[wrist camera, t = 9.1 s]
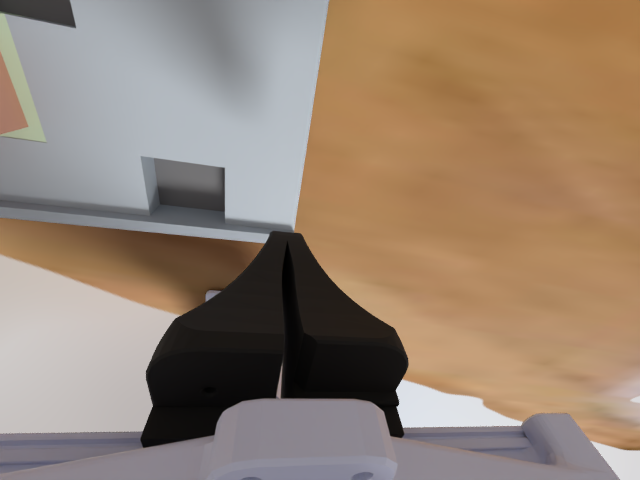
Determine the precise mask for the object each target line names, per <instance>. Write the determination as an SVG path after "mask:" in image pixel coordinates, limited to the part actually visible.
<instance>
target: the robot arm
mask: <svg viewBox="0 0 640 480" xmlns="http://www.w3.org/2000/svg"><path fill="white" fill-rule="evenodd" d="M205 298H206V302H205V303H203V304H202V305H200V306H198V307H197V308H195V309H193V310H191V311H189V312H187V313H185V314H183V315H182V316H179V317H178V318H176V319H175V320H174V321H173V322H172V324H171V325H170V327H169V328H168V329H167V331H166V332H165V334H164V336H163V337H162V339H161V341H160V342H159V344H158V346H157V348H156V350H155V352H154V354H153V356H152V359H151V361H150V363H149V366H148V368H147V370H146V381H147V384H148V388H149V392H150V396H151V400H152V404H153V407H152V410H151V412H150V415H149V417H148V420H147V423H146V425H145V428H144V430H143V432H90V433H89V432H83V433H15V434H0V480H620V479H619V478H618V477H617V475H616V474H615V473H614V471H613V470H612V469H611V467H610V466H609V465H608V464H607V462H606V461H605V460H604V458H603V457H602V456H601V455H600V453H599V452H598V451H597V449H596V448H595V447H594V446H593V444H592V443H591V442H590V440H589V439H588V438H587V437H586V435H585V434H584V433H583V431H582V430H581V429H580V428H579V426H578V425H577V424H576V422H575V421H574V420H573V419H572V417H571V416H570V415H569V414H567V413H539V414H535V415H532V416H530V417H529V418H527V419H526V420H525V421H524V422H523V423H522V425H521V426H500V427H499V426H494V427H424V428H403V427H402V424H401V421H400V418H399V414H398V411H397V408H396V406H398V405H399V400H398V396H397V393H396V388H397V387H398V385H399V383H400V382H401V380H402V378H403V376H404V375H405V373H406V371H407V368H408V357H407V355H406V352H405V350H404V347H403V345H402V342H401V340H400V338H399V336H398V334H397V333H396V330H395V329H394V328H393V327H391V326H389V325H388V324H386V323H384V322H383V321H381V320H380V319H378V318H376V317H375V316H373V315H372V314H370V313H369V312H367V311H366V310H365V309H363V308H362V307H360V306H359V305H358V304H357V303H355V302H354V301H353V300H352V299H351V298H349V297H348V296H347V295H346V294H345V293H344V292H343V291H342V290H341V289H340V288H339V287H338V286H337V285H336V284H335V283H334V282H333V281H332V280H331V279H330V278H329V277H328V275H327V274H326V273H325V271H324V270H323V269H322V268H321V266H320V265H319V263H318V262H317V260H316V259H315V257H314V256H313V254H312V253H311V251H310V249H309V247H308V246H307V244H306V242H305V240H304V238H303V236H302V235H301V233H291V232H282V231H272V232H270V235H269V237H268V239H267V241H266V243H265V245H264V246H263V248H262V249H261V251H260V252H259V254H258V255H257V256H256V258H255V259H254V260H253V261H252V262H251V264H250V265H249V266H248V267H247V268H246V269H245V270H244V271H243V273H242V274H241V275H239V276H238V277H237V278H236V279H235V280H234V281H233V282H232V283H231V284H229V285H228V286H227V287H226V288H225V289H223V290H222V291H215V290H209V291H207V293H206V296H205Z"/></svg>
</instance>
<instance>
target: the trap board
mask: <svg viewBox="0 0 640 480" xmlns="http://www.w3.org/2000/svg"><path fill="white" fill-rule="evenodd" d="M328 3H329V0H0V52H1V54H2V57H3V60H4V62H5V65H6V68H7V70H8V73H9V76H10V78H11V81H12V84H13V86H14V89H15V92H16V94H17V97H18V100H19V102H20V105H21V108H22V110H23V113H24V116H25V118H26V121H27V124H28V126H29V127H26V128H23V129H19V130H15V131H12V132H8V133H4V134H1V135H0V218H10V219H21V220H31V221H41V222H52V223H62V224H72V225H82V226H93V227H103V228H113V229H124V230H134V231H144V232H154V233H165V234H175V235H185V236H196V237H206V238H216V239H227V240H237V241H247V242H257V243H266V241H267V239H268V237H269V235H270V232H272V231H282V232H291V233H294V227H295V221H296V214H297V208H298V201H299V194H300V188H301V181H302V175H303V168H304V161H305V155H306V148H307V142H308V135H309V129H310V122H311V115H312V109H313V102H314V96H315V89H316V82H317V76H318V69H319V63H320V56H321V49H322V43H323V36H324V30H325V23H326V17H327V10H328Z"/></svg>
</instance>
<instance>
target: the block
mask: <svg viewBox="0 0 640 480" xmlns="http://www.w3.org/2000/svg"><path fill="white" fill-rule="evenodd" d="M26 127H29V126H28V124H27V121H26V118H25V116H24V113H23V110H22V108H21V105H20V102H19V100H18V97H17V94H16V92H15V89H14V86H13V84H12V81H11V78H10V76H9V73H8V70H7V68H6V65H5V62H4V60H3V57H2V54H1V52H0V135H1V134H4V133H8V132H12V131H15V130H19V129H23V128H26Z"/></svg>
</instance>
